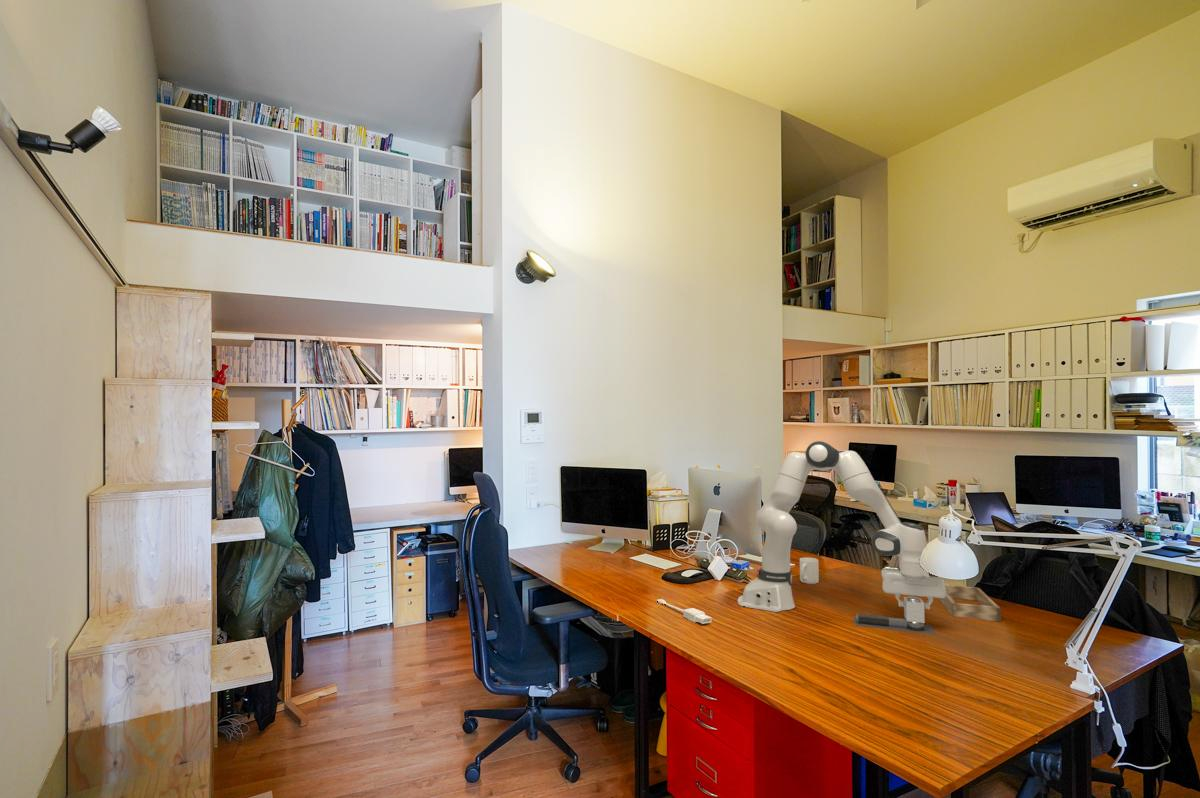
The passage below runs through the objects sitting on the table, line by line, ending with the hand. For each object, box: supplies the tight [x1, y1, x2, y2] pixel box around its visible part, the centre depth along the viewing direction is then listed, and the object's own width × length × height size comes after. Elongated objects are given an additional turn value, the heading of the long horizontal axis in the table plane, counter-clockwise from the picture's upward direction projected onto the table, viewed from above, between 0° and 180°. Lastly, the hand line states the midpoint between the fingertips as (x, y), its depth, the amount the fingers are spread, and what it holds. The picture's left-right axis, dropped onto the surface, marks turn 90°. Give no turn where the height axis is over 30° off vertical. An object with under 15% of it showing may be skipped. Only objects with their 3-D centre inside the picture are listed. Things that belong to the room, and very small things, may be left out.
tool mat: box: [852, 617, 937, 635], centre depth 207 cm, size 26×9×1 cm, turn 70°
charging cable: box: [656, 598, 713, 624], centre depth 222 cm, size 5×32×3 cm, turn 28°
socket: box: [903, 595, 926, 624], centre depth 204 cm, size 6×6×8 cm
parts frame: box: [938, 584, 1002, 623], centre depth 228 cm, size 15×28×5 cm, turn 160°
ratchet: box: [855, 613, 925, 631], centre depth 207 cm, size 22×6×8 cm, turn 70°
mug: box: [799, 557, 820, 585], centre depth 265 cm, size 12×8×10 cm
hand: (913, 607), depth 204 cm, fingers open, 7 cm apart
